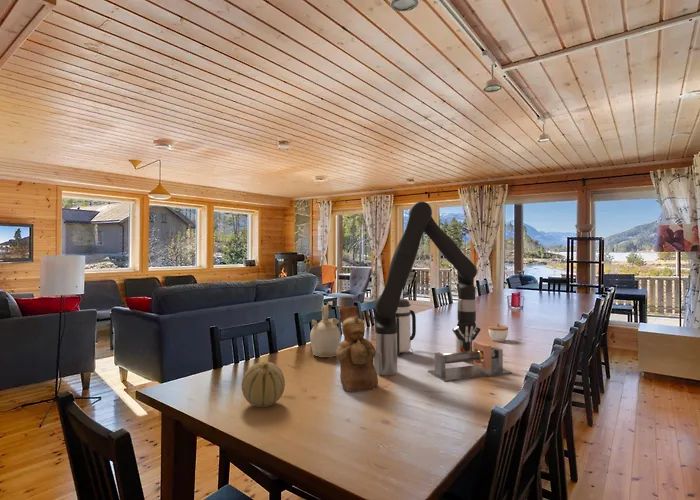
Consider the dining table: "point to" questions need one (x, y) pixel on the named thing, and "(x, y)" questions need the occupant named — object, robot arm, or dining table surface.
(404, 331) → the coffee press
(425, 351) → the dining table surface
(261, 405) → the cantaloupe
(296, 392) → the dining table surface
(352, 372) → the ceramic vessel
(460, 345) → the milk bottle
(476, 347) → the collar
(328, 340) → the jug
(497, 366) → the rail
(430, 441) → the dining table surface
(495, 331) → the lidded jar
